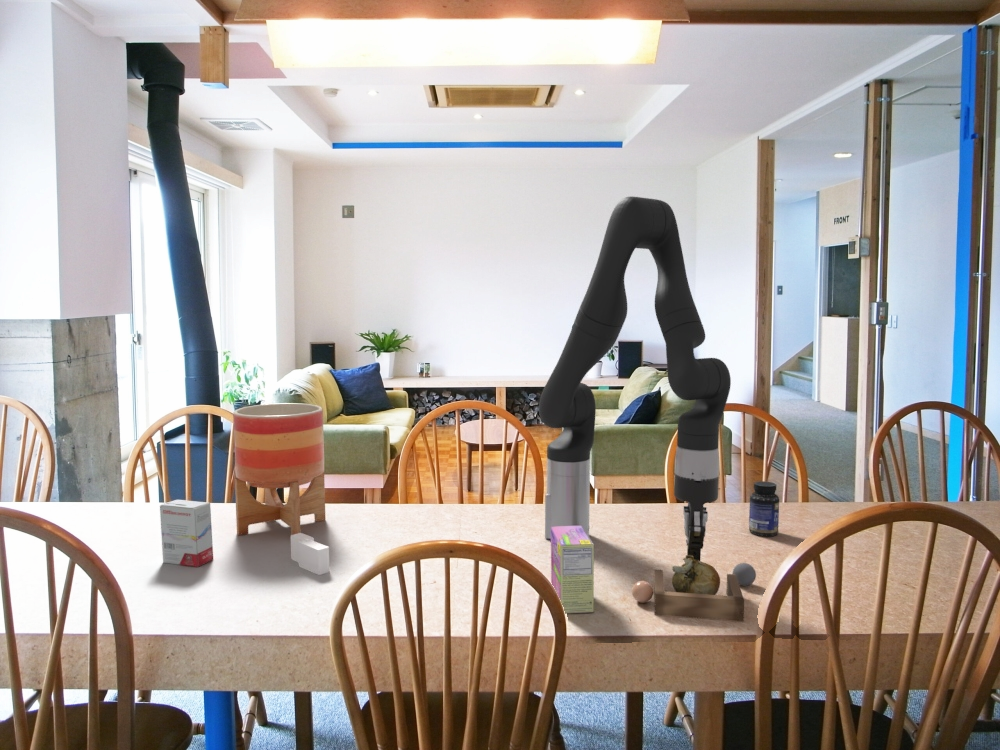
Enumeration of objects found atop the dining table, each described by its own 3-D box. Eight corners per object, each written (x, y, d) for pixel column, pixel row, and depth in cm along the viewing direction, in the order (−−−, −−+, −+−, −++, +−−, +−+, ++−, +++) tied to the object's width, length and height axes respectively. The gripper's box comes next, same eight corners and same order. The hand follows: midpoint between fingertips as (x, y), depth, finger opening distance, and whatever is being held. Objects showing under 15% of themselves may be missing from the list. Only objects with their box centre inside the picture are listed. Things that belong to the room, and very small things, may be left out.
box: (550, 590, 136) (550, 525, 135) (581, 589, 136) (582, 524, 135) (559, 615, 126) (560, 545, 124) (593, 613, 126) (594, 544, 125)
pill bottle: (780, 538, 164) (782, 487, 163) (750, 536, 166) (752, 486, 164) (775, 529, 170) (777, 480, 169) (747, 527, 172) (748, 479, 170)
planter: (341, 530, 170) (338, 410, 167) (251, 547, 159) (246, 419, 156) (309, 509, 186) (306, 400, 184) (225, 523, 175) (220, 407, 172)
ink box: (214, 559, 152) (212, 501, 150) (197, 568, 147) (194, 508, 146) (179, 554, 154) (177, 497, 153) (161, 562, 150) (158, 504, 149)
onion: (717, 611, 127) (718, 565, 126) (668, 605, 129) (669, 559, 129) (721, 594, 134) (722, 550, 133) (674, 588, 136) (675, 545, 136)
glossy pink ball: (631, 605, 129) (631, 584, 129) (631, 597, 133) (632, 576, 132) (653, 606, 129) (653, 586, 128) (652, 598, 132) (653, 578, 132)
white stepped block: (338, 579, 143) (338, 549, 142) (275, 582, 141) (274, 552, 140) (343, 552, 157) (342, 525, 157) (286, 555, 156) (285, 527, 155)
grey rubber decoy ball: (733, 588, 137) (734, 566, 136) (731, 580, 140) (731, 559, 140) (757, 590, 136) (757, 568, 135) (753, 581, 140) (754, 560, 139)
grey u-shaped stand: (654, 614, 125) (655, 594, 125) (653, 588, 137) (654, 569, 136) (743, 621, 123) (744, 600, 123) (735, 593, 134) (735, 574, 134)
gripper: (673, 462, 141) (670, 552, 143) (676, 480, 128) (673, 579, 130) (715, 464, 140) (711, 555, 142) (722, 482, 127) (718, 583, 129)
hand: (693, 567), depth 136 cm, fingers closed
